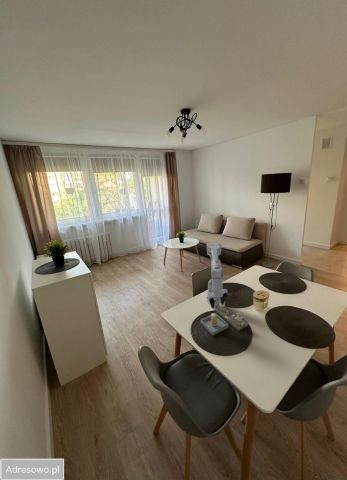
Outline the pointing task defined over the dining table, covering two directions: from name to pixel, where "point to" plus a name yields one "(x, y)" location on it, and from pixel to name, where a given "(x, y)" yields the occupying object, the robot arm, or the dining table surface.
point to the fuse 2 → (239, 317)
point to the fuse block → (230, 317)
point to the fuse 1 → (222, 306)
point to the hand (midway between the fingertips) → (217, 305)
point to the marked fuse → (214, 319)
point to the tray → (211, 329)
